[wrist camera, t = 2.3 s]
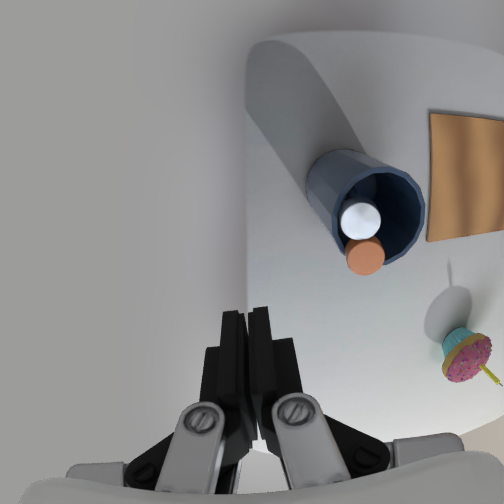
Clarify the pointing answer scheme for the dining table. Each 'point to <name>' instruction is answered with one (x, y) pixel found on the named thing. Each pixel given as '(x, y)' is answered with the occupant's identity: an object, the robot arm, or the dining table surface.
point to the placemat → (465, 176)
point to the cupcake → (466, 355)
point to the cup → (373, 187)
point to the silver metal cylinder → (359, 216)
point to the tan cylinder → (364, 255)
